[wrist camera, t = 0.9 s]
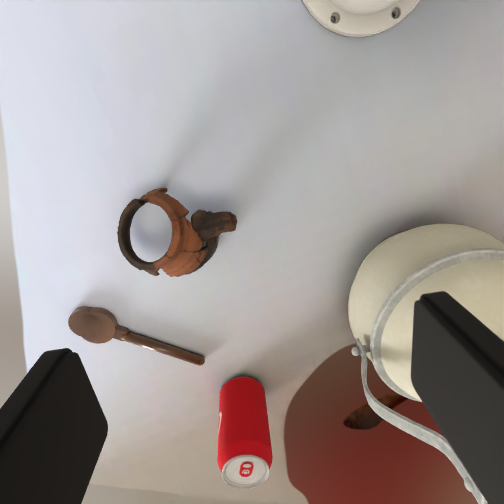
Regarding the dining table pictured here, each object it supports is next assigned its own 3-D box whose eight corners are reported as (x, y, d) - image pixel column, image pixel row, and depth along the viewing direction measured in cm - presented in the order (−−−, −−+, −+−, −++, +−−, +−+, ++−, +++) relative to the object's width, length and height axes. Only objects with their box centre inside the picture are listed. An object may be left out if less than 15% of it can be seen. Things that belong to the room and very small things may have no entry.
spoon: (211, 346, 45) (211, 352, 44) (198, 371, 47) (197, 378, 46) (77, 299, 42) (72, 304, 41) (67, 328, 43) (63, 334, 42)
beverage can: (217, 405, 49) (213, 491, 38) (222, 370, 47) (220, 452, 36) (260, 408, 50) (268, 493, 39) (268, 374, 48) (278, 455, 37)
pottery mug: (171, 281, 42) (124, 292, 34) (150, 207, 43) (98, 202, 35) (260, 252, 38) (229, 256, 30) (235, 170, 38) (198, 154, 31)
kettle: (335, 359, 47) (434, 596, 24) (309, 238, 40) (412, 413, 17) (519, 312, 46) (806, 518, 23) (525, 179, 39) (947, 284, 16)
